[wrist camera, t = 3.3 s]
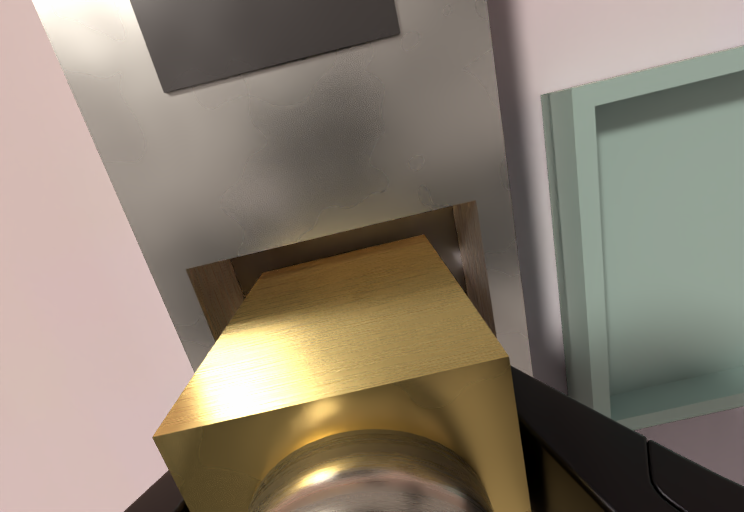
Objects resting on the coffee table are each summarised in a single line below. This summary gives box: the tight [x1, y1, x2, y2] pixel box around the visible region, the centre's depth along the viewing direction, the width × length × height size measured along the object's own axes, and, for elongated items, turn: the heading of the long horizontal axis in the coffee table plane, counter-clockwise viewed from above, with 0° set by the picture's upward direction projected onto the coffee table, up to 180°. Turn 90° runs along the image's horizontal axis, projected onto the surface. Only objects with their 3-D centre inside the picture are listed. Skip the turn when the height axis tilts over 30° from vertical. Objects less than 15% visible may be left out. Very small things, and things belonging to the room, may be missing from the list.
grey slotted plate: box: [32, 0, 533, 377], centre depth 10 cm, size 8×24×3 cm, turn 13°
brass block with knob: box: [152, 234, 531, 512], centre depth 8 cm, size 4×4×7 cm
